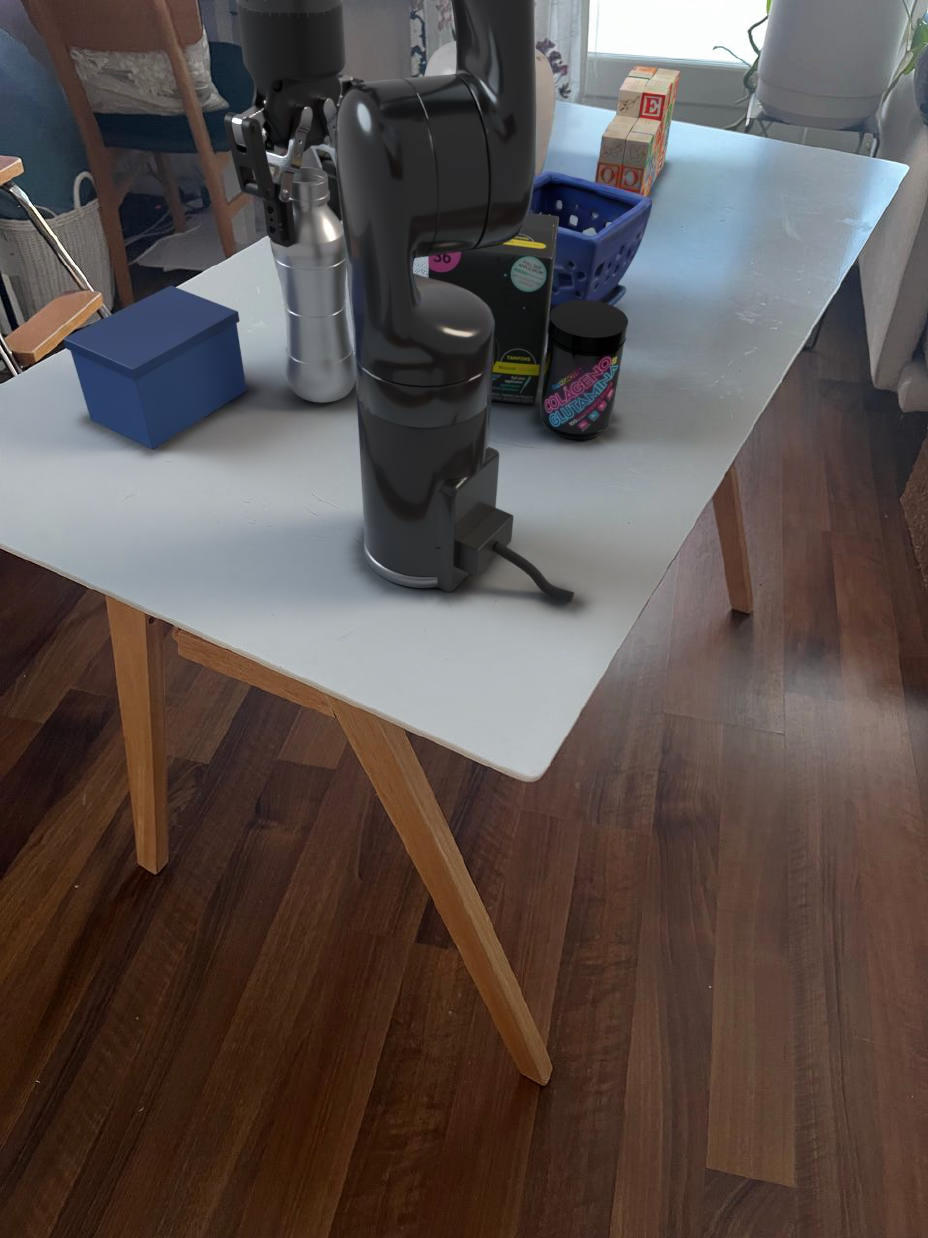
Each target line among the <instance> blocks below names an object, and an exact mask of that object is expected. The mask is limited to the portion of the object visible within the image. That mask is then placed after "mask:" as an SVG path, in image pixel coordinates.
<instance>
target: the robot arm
mask: <svg viewBox="0 0 928 1238" xmlns="http://www.w3.org/2000/svg"><path fill="white" fill-rule="evenodd" d="M235 2H236V11H237V19H238V28H239V36H240V44H241V53H242V61H243V65H244V67H245V69H246V70H247V71H248V73H249V74H250V76H251V78H252V81H253V84H254V87H253V88H254V89H253V97H252V100H251V101H252V102H251V107H249V108H248V109H247V110H245V111H243V112H242V113H240V114H239V113H235V112H232V111H228V112H227V113H225V116H224V119H223V125H224V129H225V133H226V136H227V140H228V146H229V148H230V153H231V157H232V161H233V165H234V169H235V172H236V177H237V181H238V185H239V189H240V191H241V192H242V193H243V194H246V195H248V196H252V197H255V198H258V199H261V200H262V203H263V210H264V211H263V213H264V219H265V229H266V230H265V231H266V234H267V236H268V239H269V240H270V239H271V240H272V242H273V243H275V244H278V245H281V246H284V247H287V248H288V247H290V246H292V245H294V244H295V243H296V236H295V226H294V215H293V205H292V200H291V199H289V198H290V195H291V189H292V184H293V178H294V174H295V172H297V171H299V169H300V168H301V167H302V163H303V156H304V153H305V152H306V151H307V150H309V149H311V151H312V154H313V156H314V158H315V161H316V163H317V166H318V167H319V169H321V170H323V171H325V172H326V173H327V176H328V190H329V191H330V200H329V201H328V202H327V205H328V206H329V207H330V208H331V210H332V211H333V212H334V213H335V215H336V216H337V217H338V219H339V220H340V222H341V224H342V225H343V232H344V242H345V252H346V263H347V270H346V279H347V288H348V289H347V290H348V299H349V300H348V301H349V307H350V316H351V322H352V324H351V325H352V333H353V352H354V355H355V371H356V381H355V388H356V404H357V405H356V407H357V427H358V444H359V462H360V480H361V498H362V515H363V530H364V532H363V552H364V556H365V559H366V562H367V563H368V565H369V566H370V568H371V569H372V570H373V571H374V572H375V573H377V574H378V575H379V576H380V577H382V578H383V579H386V580H387V581H389V582H391V583H394V584H397V585H401V586H404V587H408V588H409V587H410V588H418V589H430V588H431V589H432V588H438V589H441V590H443V591H445V592H449V593H452V592H453V591H454V590H455V589H456V588H457V587H458V586H459V585H460V584H461V583H462V582H464V580H465V579H466V578H467V577H468V576H469V575H471V576H473V577H478V576H479V575H480V574H481V573H482V572H483V571H484V570H485V569H486V568H487V567H488V566H489V565H490V564H491V563H492V562H493V561H494V560H495V559H496V558H497V557H498V556H500V557H502V558H503V559H504V560H506V561H508V562H510V563H511V564H512V565H514V566H516V567H517V568H518V569H520V570H521V571H523V573H525V574H526V575H528V577H530V578H531V580H532V581H533V582H534V583H535V585H536V586H537V588H539V589H540V590H541V591H542V592H543V593H545V594H546V595H548V596H549V597H551V598H554V599H557V600H561V601H564V602H568V603H572V601H573V599H574V597H575V591H572V590H567V589H565V588H560V587H558V586H555V585H554V584H552V583H551V582H549V581H548V580H547V579H546V577H545V576H544V575H543V573H542V572H541V571H540V570H539V569H538V568H537V566H535V565H534V564H533V563H532V562H530V561H529V560H528V559H526V558H525V557H523V556H522V555H521V554H519V553H517V552H516V551H514V550H512V549H511V548H509V547H508V546H509V545H510V544H511V543H512V538H513V526H514V517H515V516H514V515H513V514H512V513H510V512H506V511H505V510H502V509H500V508H497V497H498V484H499V483H498V482H499V470H500V468H499V466H500V452H499V450H498V449H495V448H493V447H490V446H489V444H490V430H491V429H490V428H491V411H492V400H491V397H492V383H493V367H494V352H495V335H496V325H495V320H494V316H493V313H492V311H491V309H490V307H489V306H488V305H487V304H486V303H485V302H484V301H483V300H482V299H481V298H480V297H479V296H477V295H476V294H474V293H472V292H471V291H469V290H467V289H465V288H462V287H460V286H457V285H454V284H451V283H448V282H444V281H440V280H435V279H431V278H428V276H423V275H421V274H420V275H419V274H417V273H415V272H414V262H415V260H416V259H419V258H427V257H428V256H434V255H441V254H448V253H455V252H461V251H468V250H476V249H481V248H487V247H492V246H497V245H501V244H503V243H506V242H509V241H511V240H512V239H513V238H515V237H516V236H517V235H518V234H519V233H520V231H521V230H522V228H523V226H524V223H525V221H526V219H527V216H528V213H529V210H530V206H531V201H532V195H533V189H534V182H535V170H536V150H537V106H536V49H537V48H536V47H537V46H536V45H537V44H536V7H535V6H536V0H450V2H451V9H452V16H453V24H454V33H455V41H456V51H457V54H456V73H455V74H452V75H451V74H448V75H436V76H425V77H424V76H417V77H416V76H415V77H404V78H393V79H381V80H372V81H365V80H363V79H360V78H357V77H354V76H350V75H346V74H340V73H341V72H342V71H343V70H344V68H345V66H346V44H345V43H346V42H345V23H344V5H343V4H344V3H343V2H344V1H343V0H235ZM275 147H277V149H280V150H284V151H285V152H286V151H287V152H286V154H285V155H279V154H277V153H276V152H275ZM276 167H278V168H279V172H278V178H277V182H276V181H274V178H275V171H276Z"/></svg>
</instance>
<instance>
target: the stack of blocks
mask: <svg viewBox="0 0 928 1238" xmlns="http://www.w3.org/2000/svg"><path fill="white" fill-rule="evenodd" d="M680 72H681V71H680V70H675V69H668V68H660V67H659V68H657V67H650V66H641V65H635V66H634V67H633V68H632V70H631V71H629V73H628V75H627V77H626V78H625V79H624V81H623V83H622V84H621V86H620V88H619V89H618V90H619V91H618V98H617V104H616V105H617V106H616V112H615V116H614V117H613V118H612V120H611V121H610V122H609V123H608V125H607V127H606V128H605V130H604V131H603V133H602V135H601V141H600V148H599V156H598V161H597V163H596V171H595V178H594V179H595V180H594V182H596V183H600V184H604V185H608V186H612V187H615V188H619V189H622V190H626V191H629V192H633V193H636V194H639V195H642V196H645V197H648V195H649V194H650V191H651V188H652V187H653V185H654V183H655V181H656V178H658V176H659V174H660V173H661V171H662V169H663V167H664V165H665V160H666V156H667V151H668V143H669V136H670V130H671V124H672V119H673V116H674V115H673V114H674V109H675V102H676V98H677V97H676V96H677V91H678V86H679V81H680V75H681V73H680Z"/></svg>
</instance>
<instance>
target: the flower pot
mask: <svg viewBox="0 0 928 1238" xmlns="http://www.w3.org/2000/svg"><path fill="white" fill-rule="evenodd" d="M558 202H561V208H559V207H558V206H557V205H558ZM652 207H653V201H652V199H651V198H650V197H648V196H647V197H645V196H642V195H639V194H636V193H633V192H629V191H626V190H622V189H619V188H615V187H612V186H608V185H604V184H600V183H596V182H595V181H591V180H588V179H584V178H580V177H576V176H572V175H568V174H564V173H560V172H556V171H551V170H545V171H542V173H541V174H539V175H537V176H536V177H535V182H534V189H533V195H532V201H531V206H530V210H529V213H532V214H542V215H552V216H557V217H559V224H558V233H557V243H556V252H555V262H554V272H553V280H552V290H551V301H550V310H549V319H548V328H549V320H550V313H551V311H552V309H553V308H554V307H556V306H557V305H559V304H562V303H564V302H568V301H574V300H592V301H599V302H603V303H606V304H609V305H612V306H614V307H615V305H616V304H617V303H618V302H620V301H621V299H622V298H623V297H624V296H625V295H626V292H627V290H628V288H627V286H625V285H623V284H620V282H621V280H622V279H623V277H624V276H625V274H626V273H627V272H628V269H629V268H630V266H631V264H632V263H633V260H634V258H635V257H636V255H637V253H638V251H639V249H640V246H641V243H642V241H643V238H644V235H645V232H646V229H647V226H648V223H649V219H650V215H651V212H652ZM595 212H596V213H597V216H595V217H594V215H593V213H595ZM572 217H576V218H577V222H576V224H574V223H571V218H572ZM608 223H609V224H608ZM607 224H608V225H607ZM591 228H592V229H594V232H595V234H593V235H589V234H585V233H584V231H586V230H589V229H591ZM548 328H547V332H548Z"/></svg>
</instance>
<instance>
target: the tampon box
mask: <svg viewBox="0 0 928 1238" xmlns="http://www.w3.org/2000/svg"><path fill="white" fill-rule="evenodd" d="M558 224H559V217H557V216H552V215H550V214H549V215H542V214H541V213H540V214H532V213H528V216H527V219H526V221H525V223H524V226H523V228H522V230H521V231H520V233H519V234H518V235H517V236H516V237H515V238H513V239H512V240H511V241H509V242H506V243H503V244H501V245H497V246H492V247H487V248H481V249H476V250H468V251H461V252H455V253H448V254H441V255H434V256H427V257H428V262H427V263H428V264H427V265H428V267H427V268H428V269H427V270H428V271H427V273H428V276H427V278H431V279H435V280H440V281H444V282H448V283H451V284H454V285H457V286H460V287H462V288H465V289H467V290H469V291H471V292H472V293H474V294H476V295H477V296H479V297H480V298H481V299H482V300H483V301H484V302H485V303H486V304H487V305H488V306H489V307H490V309H491V311H492V313H493V316H494V320H495V325H496V335H495V352H494V367H493V383H492V397H491V401H492V402H493V401H495V402H501V403H502V402H503V403H511V404H519V405H527V406H534V404H535V403H536V400H537V395H538V392H539V386H540V381H541V375H542V371H543V365H544V361H545V360H544V359H545V355H546V347H547V338H548V331H547V328H548V319H549V310H550V301H551V290H552V280H553V272H554V262H555V252H556V243H557V233H558Z"/></svg>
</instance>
